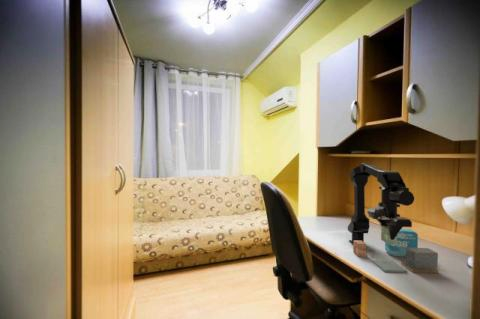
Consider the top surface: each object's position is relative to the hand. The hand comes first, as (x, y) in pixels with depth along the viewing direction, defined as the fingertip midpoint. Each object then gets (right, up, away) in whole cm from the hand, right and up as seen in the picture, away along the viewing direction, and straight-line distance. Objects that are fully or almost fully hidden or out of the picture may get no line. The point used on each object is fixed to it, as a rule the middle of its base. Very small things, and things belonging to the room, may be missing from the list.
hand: (388, 237), depth 95 cm
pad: (0, -12, 0) cm, 12 cm away
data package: (+14, -13, +13) cm, 23 cm away
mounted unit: (+12, -12, -1) cm, 17 cm away
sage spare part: (0, -2, 0) cm, 2 cm away
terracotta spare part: (-6, -12, +12) cm, 18 cm away
